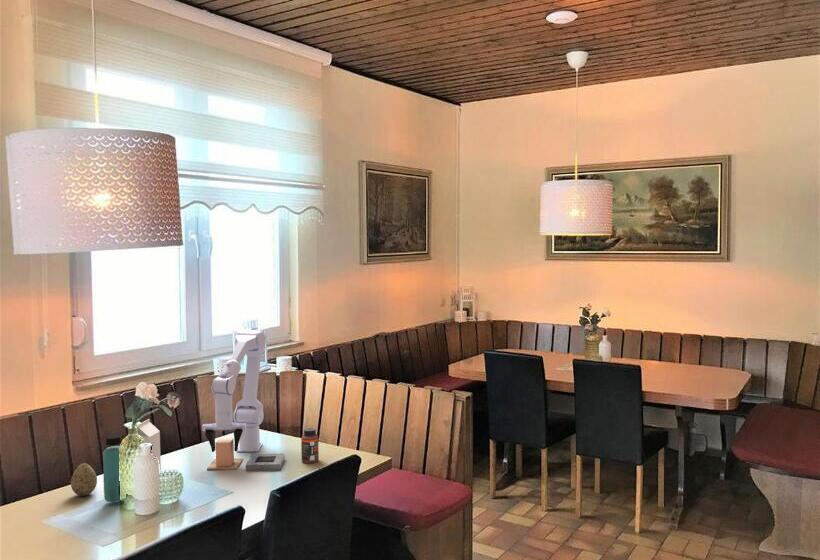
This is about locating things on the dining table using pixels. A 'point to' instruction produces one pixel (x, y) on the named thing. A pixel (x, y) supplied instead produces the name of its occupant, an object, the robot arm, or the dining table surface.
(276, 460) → the square socket
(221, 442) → the terracotta block
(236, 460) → the walnut pad
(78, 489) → the decorative egg
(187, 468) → the dining table surface
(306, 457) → the supplement bottle
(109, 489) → the beverage bottle
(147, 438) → the milk carton
